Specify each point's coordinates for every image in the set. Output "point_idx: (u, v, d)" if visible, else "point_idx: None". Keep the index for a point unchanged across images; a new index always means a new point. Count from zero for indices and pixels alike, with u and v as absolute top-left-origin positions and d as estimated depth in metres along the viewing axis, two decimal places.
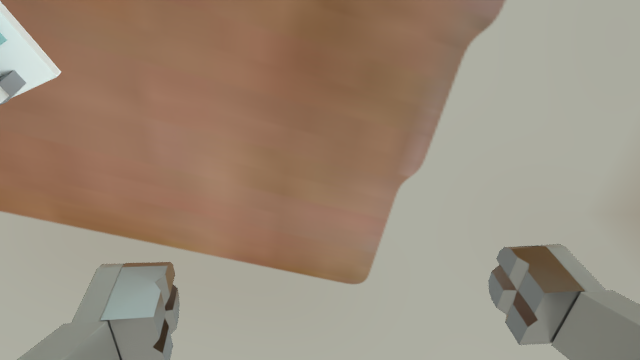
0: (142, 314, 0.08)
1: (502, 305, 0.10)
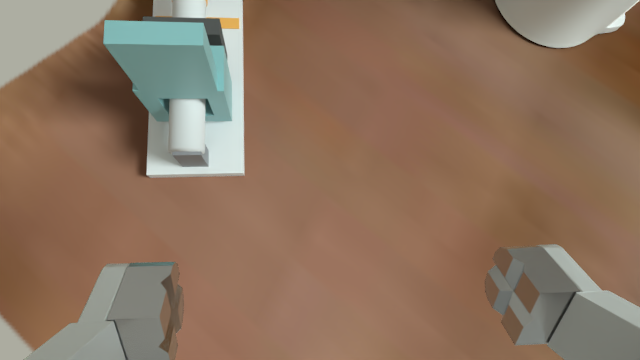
0: (148, 314, 0.08)
1: (498, 305, 0.10)
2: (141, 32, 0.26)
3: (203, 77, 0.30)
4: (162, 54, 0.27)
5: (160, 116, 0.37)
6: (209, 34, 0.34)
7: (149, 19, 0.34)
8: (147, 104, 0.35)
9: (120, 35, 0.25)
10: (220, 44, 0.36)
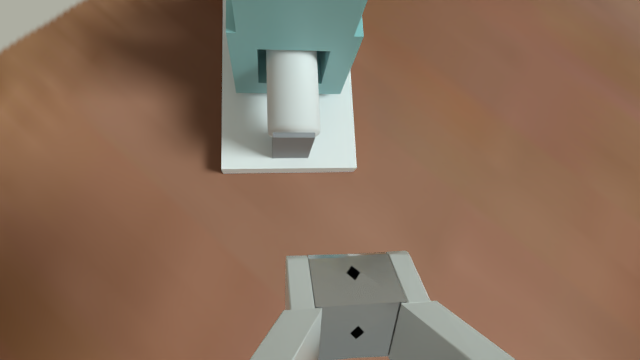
0: (350, 302, 0.08)
1: None
2: None
3: (349, 5, 0.19)
4: None
5: (245, 83, 0.26)
6: None
7: None
8: (237, 60, 0.23)
9: None
10: None
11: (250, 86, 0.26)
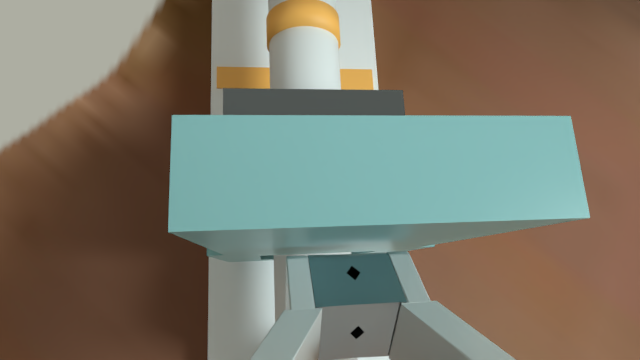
0: (350, 302, 0.08)
1: None
2: (334, 168, 0.06)
3: (427, 242, 0.10)
4: (384, 232, 0.07)
5: (241, 260, 0.18)
6: None
7: (239, 95, 0.14)
8: (228, 258, 0.15)
9: (245, 186, 0.05)
10: None
11: (249, 260, 0.18)
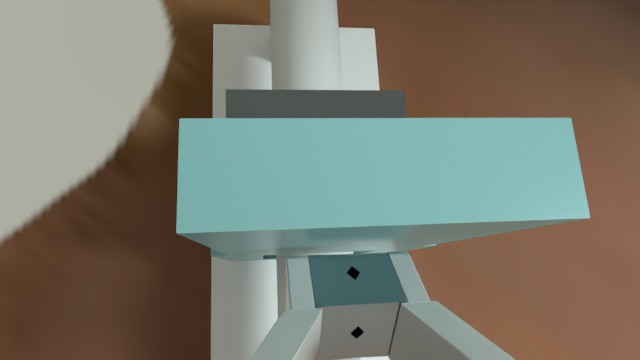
0: (351, 302, 0.08)
1: None
2: (339, 170, 0.06)
3: (429, 241, 0.10)
4: (388, 232, 0.07)
5: None
6: None
7: (241, 96, 0.14)
8: (231, 258, 0.15)
9: (251, 188, 0.06)
10: None
11: None
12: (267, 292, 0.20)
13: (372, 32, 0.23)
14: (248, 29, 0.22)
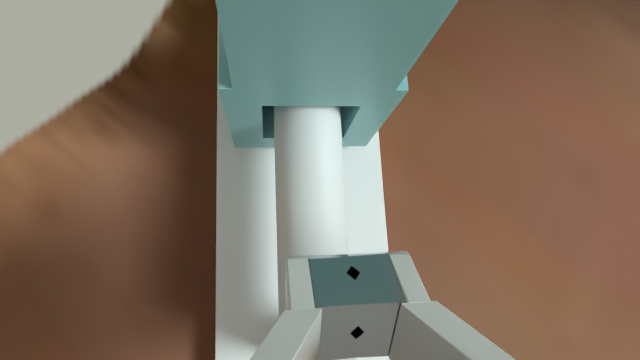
0: (350, 302, 0.08)
1: None
2: None
3: (397, 56, 0.13)
4: None
5: (246, 139, 0.20)
6: None
7: None
8: (235, 117, 0.17)
9: None
10: None
11: (252, 141, 0.20)
12: (266, 177, 0.22)
13: None
14: None
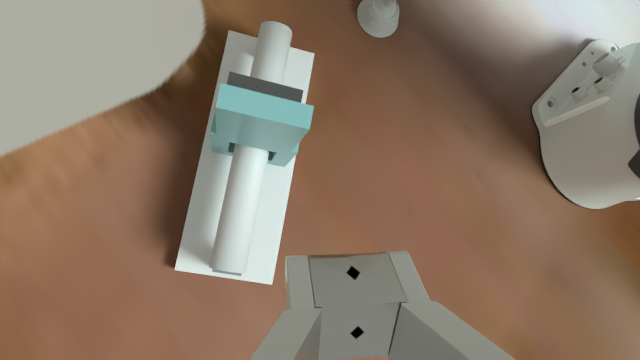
0: (350, 302, 0.08)
1: None
2: (253, 103, 0.26)
3: (287, 142, 0.30)
4: (265, 124, 0.27)
5: (218, 150, 0.37)
6: None
7: (235, 76, 0.33)
8: (215, 142, 0.34)
9: (233, 102, 0.25)
10: None
11: (222, 151, 0.38)
12: (225, 171, 0.39)
13: (313, 55, 0.43)
14: (246, 37, 0.41)
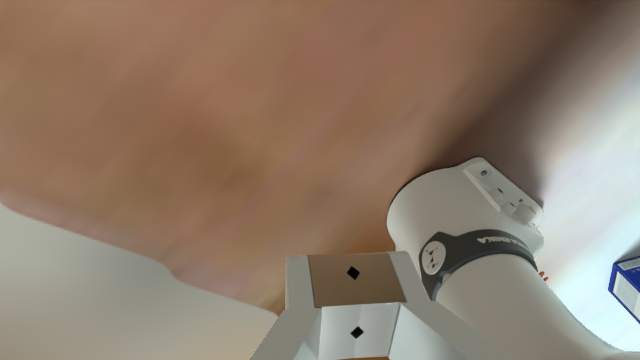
0: (350, 302, 0.08)
1: None
2: None
3: None
4: None
5: None
6: None
7: None
8: None
9: None
10: None
11: None
12: None
13: None
14: None
